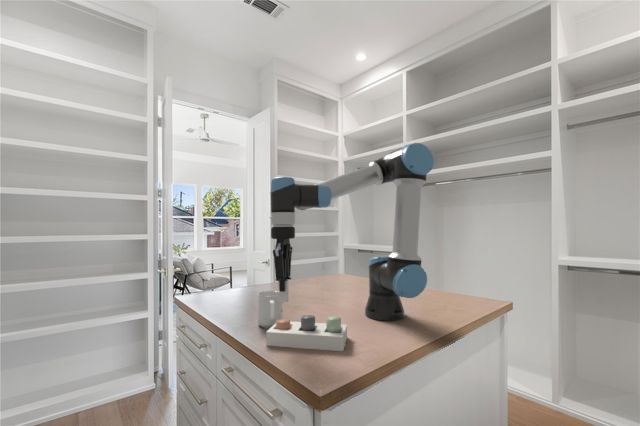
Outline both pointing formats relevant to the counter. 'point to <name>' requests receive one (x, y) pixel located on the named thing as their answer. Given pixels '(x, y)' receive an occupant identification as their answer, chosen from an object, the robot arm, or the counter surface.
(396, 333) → the counter surface
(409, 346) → the counter surface
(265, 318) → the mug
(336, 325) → the button sage
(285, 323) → the button terracotta
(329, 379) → the counter surface
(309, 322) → the button charcoal
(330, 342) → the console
